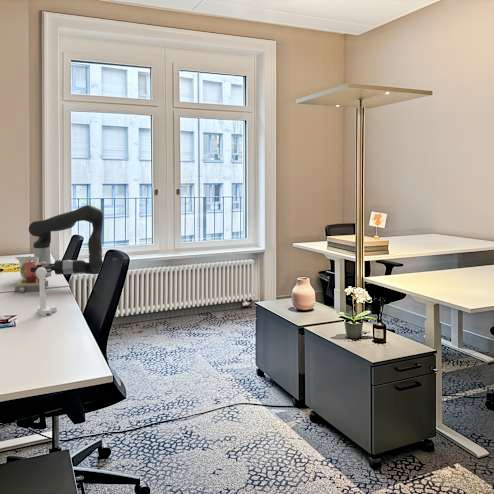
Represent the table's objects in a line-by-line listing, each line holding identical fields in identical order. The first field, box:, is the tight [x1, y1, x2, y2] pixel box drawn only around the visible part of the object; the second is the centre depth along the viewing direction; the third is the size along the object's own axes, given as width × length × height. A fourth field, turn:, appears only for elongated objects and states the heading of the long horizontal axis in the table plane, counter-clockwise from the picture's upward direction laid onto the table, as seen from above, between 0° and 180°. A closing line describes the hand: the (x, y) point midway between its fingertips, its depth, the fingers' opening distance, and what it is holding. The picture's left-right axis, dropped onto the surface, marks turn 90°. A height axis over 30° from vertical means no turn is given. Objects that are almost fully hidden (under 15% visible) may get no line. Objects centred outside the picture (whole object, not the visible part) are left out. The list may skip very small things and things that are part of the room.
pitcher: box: [14, 256, 46, 280], centre depth 295 cm, size 11×18×14 cm, turn 93°
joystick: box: [36, 267, 57, 317], centre depth 221 cm, size 11×8×20 cm
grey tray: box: [14, 278, 49, 293], centre depth 270 cm, size 16×14×4 cm
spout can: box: [25, 255, 39, 283], centre depth 271 cm, size 6×6×15 cm
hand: (32, 268), depth 271 cm, fingers open, 8 cm apart
